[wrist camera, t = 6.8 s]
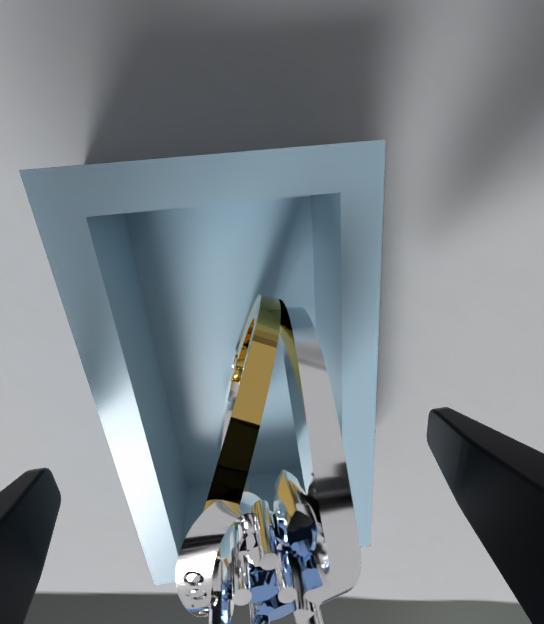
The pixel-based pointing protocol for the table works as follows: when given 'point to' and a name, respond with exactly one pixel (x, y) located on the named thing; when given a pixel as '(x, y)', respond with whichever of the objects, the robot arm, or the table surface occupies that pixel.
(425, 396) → the table surface
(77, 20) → the table surface
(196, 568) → the ring
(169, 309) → the box
